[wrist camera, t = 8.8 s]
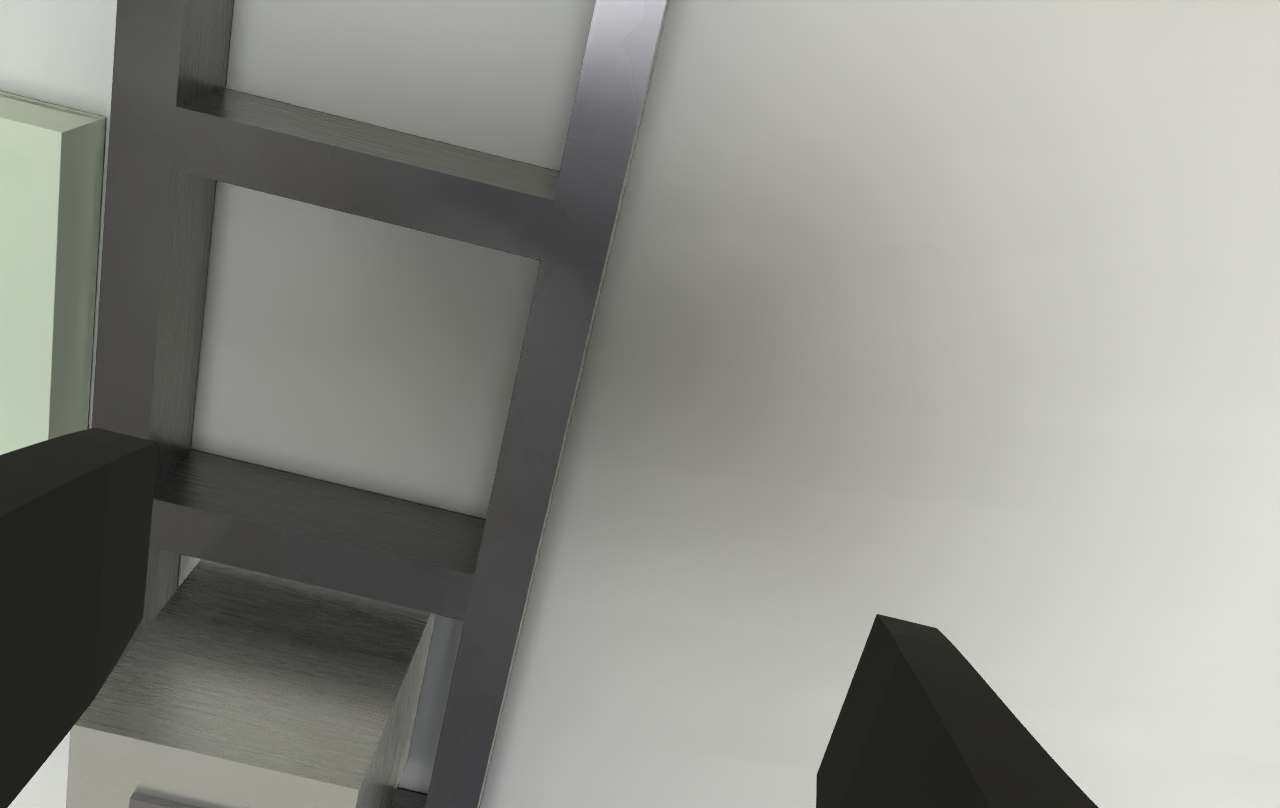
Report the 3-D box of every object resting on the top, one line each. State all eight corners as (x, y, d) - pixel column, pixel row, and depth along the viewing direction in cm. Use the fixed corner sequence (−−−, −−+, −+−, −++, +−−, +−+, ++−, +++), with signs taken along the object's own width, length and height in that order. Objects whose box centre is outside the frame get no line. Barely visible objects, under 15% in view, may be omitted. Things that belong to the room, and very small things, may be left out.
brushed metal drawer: (407, 759, 26) (318, 1001, 20) (201, 712, 26) (53, 942, 20) (441, 585, 24) (355, 797, 18) (221, 533, 24) (65, 730, 18)
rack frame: (471, 841, 26) (452, 912, 25) (114, 759, 26) (68, 824, 24) (731, -264, 18) (732, -283, 16) (204, -403, 18) (143, -440, 16)
